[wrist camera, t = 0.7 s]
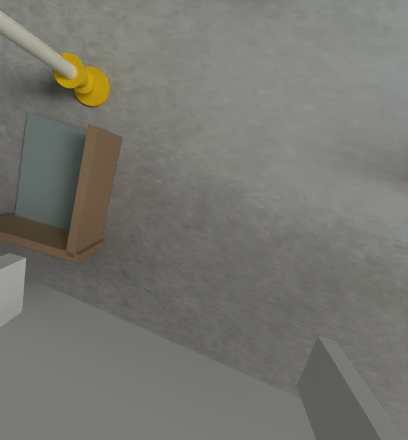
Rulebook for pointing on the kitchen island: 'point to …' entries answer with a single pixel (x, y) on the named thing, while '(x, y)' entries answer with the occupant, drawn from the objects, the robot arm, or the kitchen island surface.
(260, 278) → the kitchen island surface
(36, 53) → the candle
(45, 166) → the open room model
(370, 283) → the kitchen island surface
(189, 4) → the kitchen island surface
